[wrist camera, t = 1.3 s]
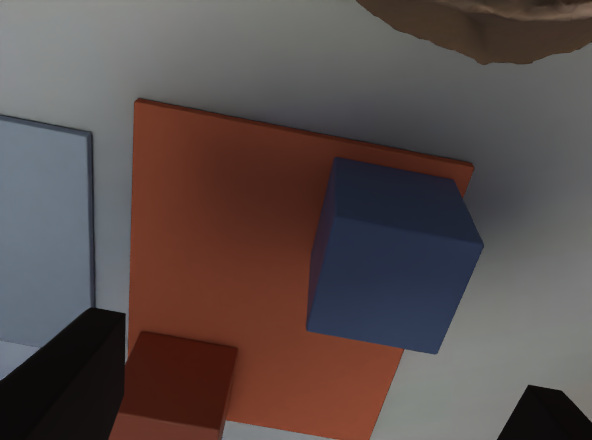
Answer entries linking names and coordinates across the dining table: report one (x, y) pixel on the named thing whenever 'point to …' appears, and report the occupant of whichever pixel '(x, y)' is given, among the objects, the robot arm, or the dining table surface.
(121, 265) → the dining table surface
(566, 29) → the food dish
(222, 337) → the rust mat
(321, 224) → the blue block
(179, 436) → the rust block
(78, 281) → the blue mat
